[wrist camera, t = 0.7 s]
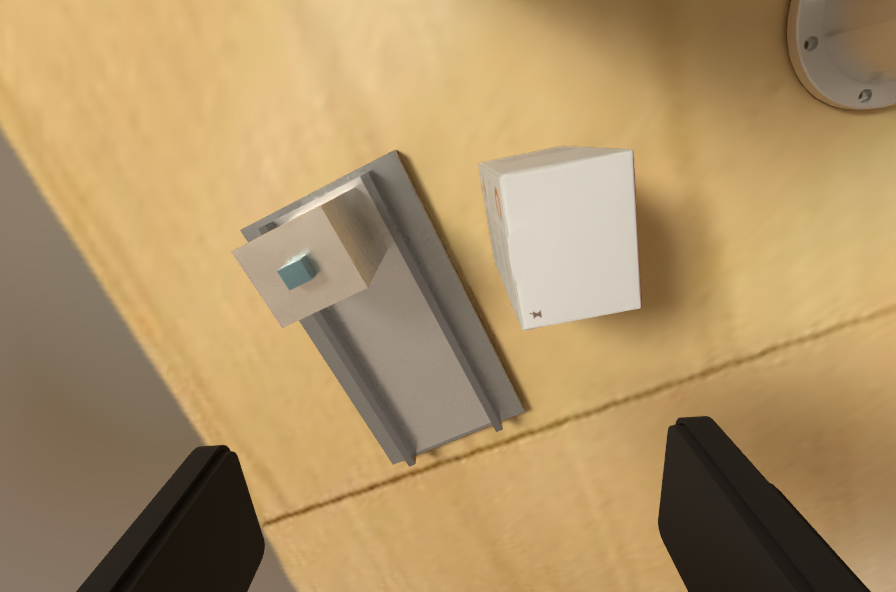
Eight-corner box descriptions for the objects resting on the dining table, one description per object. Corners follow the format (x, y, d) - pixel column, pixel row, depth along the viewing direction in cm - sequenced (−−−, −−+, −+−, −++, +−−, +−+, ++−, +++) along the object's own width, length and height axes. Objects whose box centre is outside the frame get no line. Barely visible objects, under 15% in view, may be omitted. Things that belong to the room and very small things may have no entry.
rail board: (396, 149, 32) (370, 155, 21) (522, 403, 39) (551, 505, 28) (247, 227, 34) (152, 269, 23) (394, 455, 41) (375, 569, 30)
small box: (573, 249, 34) (644, 312, 22) (494, 265, 35) (520, 335, 22) (563, 142, 32) (636, 146, 19) (476, 160, 32) (495, 175, 20)
